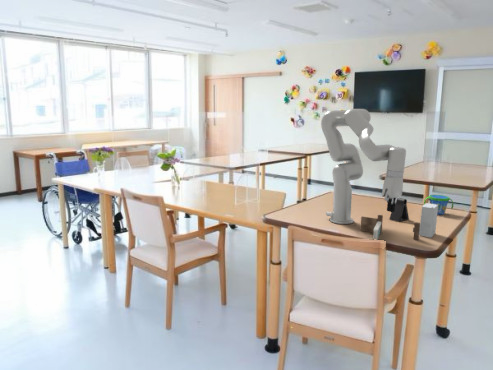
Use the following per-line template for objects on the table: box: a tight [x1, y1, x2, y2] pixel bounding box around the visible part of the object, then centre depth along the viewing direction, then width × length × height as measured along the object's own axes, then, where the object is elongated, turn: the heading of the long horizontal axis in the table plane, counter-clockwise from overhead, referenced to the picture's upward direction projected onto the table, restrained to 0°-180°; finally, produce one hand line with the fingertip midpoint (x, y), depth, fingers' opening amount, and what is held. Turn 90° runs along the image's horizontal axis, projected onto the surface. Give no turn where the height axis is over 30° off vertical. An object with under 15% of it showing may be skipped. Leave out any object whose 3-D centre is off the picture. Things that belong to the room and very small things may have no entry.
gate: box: [372, 221, 381, 240], centre depth 196 cm, size 14×2×6 cm, turn 156°
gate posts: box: [360, 214, 420, 241], centre depth 202 cm, size 28×3×9 cm, turn 56°
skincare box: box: [419, 202, 438, 239], centre depth 201 cm, size 8×6×15 cm
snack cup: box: [423, 194, 454, 216], centre depth 241 cm, size 16×10×10 cm
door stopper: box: [389, 197, 410, 223], centre depth 228 cm, size 9×6×12 cm, turn 123°
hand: (390, 211), depth 198 cm, fingers closed
